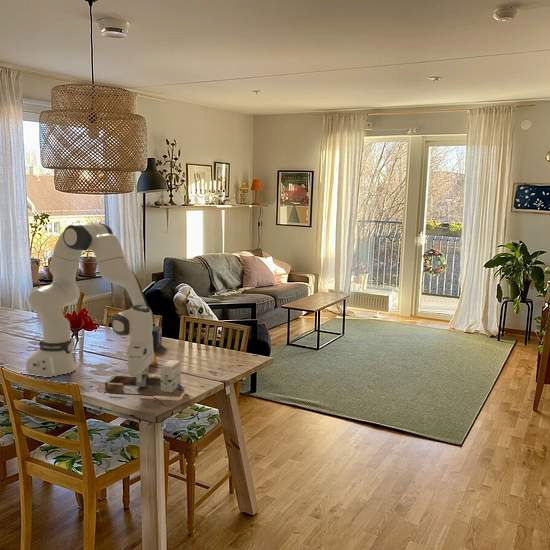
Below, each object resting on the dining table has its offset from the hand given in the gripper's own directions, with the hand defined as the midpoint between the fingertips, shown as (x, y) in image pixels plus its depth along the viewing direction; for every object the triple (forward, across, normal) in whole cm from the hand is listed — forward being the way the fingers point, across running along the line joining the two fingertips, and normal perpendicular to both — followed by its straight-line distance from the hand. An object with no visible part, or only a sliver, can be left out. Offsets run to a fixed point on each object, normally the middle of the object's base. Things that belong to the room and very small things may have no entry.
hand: (142, 379), depth 220 cm
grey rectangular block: (+2, 0, 0) cm, 2 cm away
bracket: (+5, -29, -10) cm, 31 cm away
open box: (+5, 0, -4) cm, 6 cm away
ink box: (+5, -1, +11) cm, 12 cm away
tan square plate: (+5, -13, -3) cm, 14 cm away
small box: (+5, -58, -14) cm, 60 cm away
